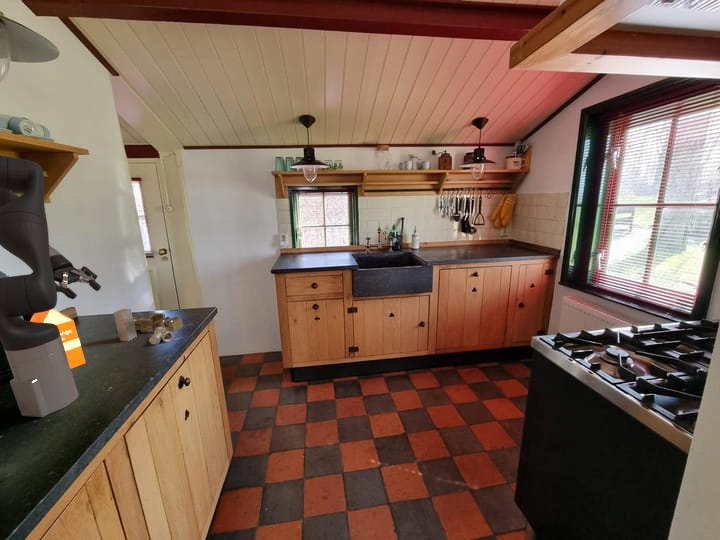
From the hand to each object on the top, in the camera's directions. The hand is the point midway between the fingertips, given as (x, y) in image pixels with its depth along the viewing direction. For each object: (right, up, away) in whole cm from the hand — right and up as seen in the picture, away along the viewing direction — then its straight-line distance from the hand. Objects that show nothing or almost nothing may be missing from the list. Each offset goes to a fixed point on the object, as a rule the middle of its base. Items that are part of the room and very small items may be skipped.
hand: (87, 293), depth 106 cm
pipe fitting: (+25, -17, +2) cm, 30 cm away
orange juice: (+5, -22, -13) cm, 26 cm away
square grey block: (+12, -17, +3) cm, 21 cm away
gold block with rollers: (+16, -15, +12) cm, 24 cm away
